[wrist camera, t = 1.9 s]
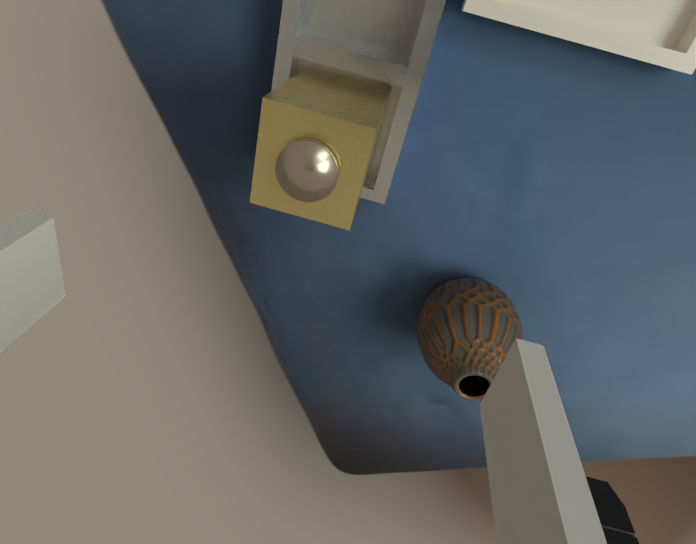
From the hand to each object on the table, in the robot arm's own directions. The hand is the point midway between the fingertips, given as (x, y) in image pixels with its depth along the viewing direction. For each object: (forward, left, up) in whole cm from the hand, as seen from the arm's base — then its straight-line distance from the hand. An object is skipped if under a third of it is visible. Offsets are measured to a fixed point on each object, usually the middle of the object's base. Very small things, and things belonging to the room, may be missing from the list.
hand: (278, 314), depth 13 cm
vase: (+10, +11, -19) cm, 24 cm away
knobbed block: (-1, -1, -19) cm, 19 cm away
